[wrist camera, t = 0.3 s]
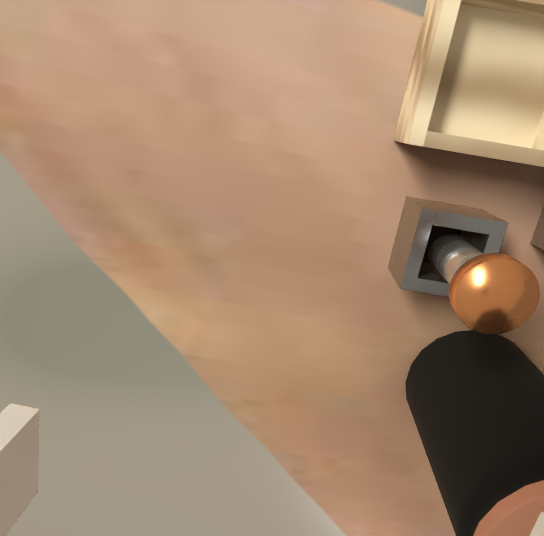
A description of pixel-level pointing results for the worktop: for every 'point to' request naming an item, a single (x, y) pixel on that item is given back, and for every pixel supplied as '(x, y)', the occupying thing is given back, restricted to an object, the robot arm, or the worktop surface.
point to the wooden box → (478, 80)
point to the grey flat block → (539, 233)
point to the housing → (415, 232)
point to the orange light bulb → (485, 285)
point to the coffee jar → (481, 431)
